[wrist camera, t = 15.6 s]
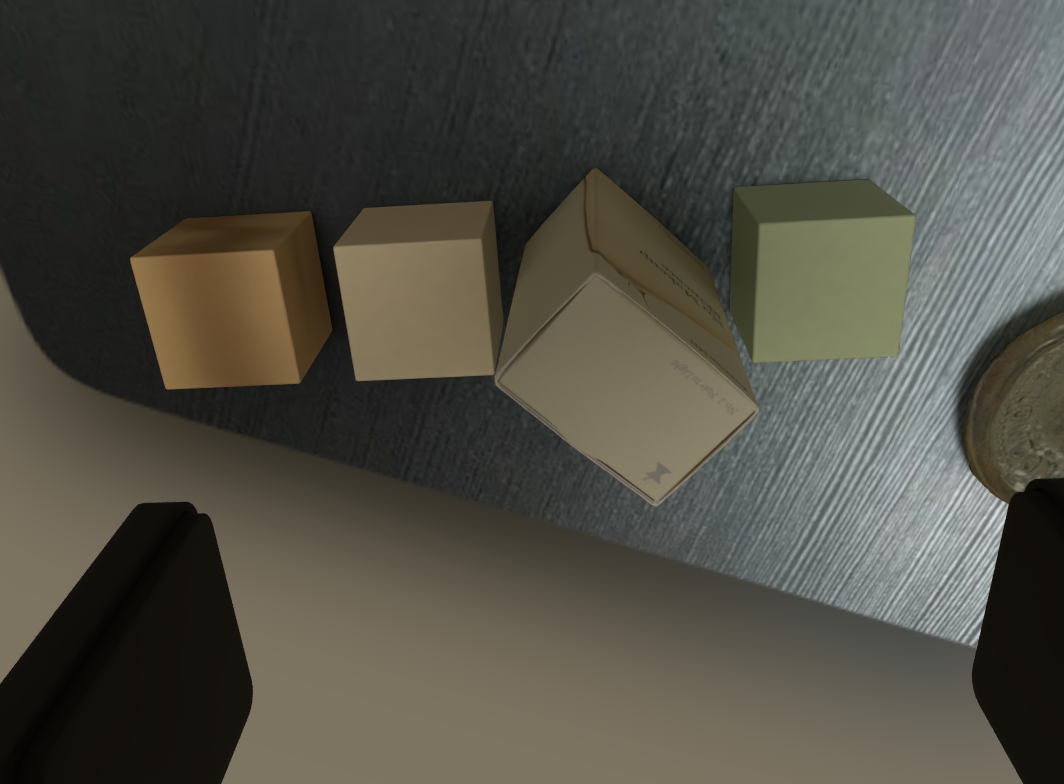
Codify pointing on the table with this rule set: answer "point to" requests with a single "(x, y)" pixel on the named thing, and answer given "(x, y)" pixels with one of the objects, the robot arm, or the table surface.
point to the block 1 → (234, 300)
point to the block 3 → (819, 270)
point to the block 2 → (421, 291)
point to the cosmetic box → (623, 343)
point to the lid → (1019, 413)
